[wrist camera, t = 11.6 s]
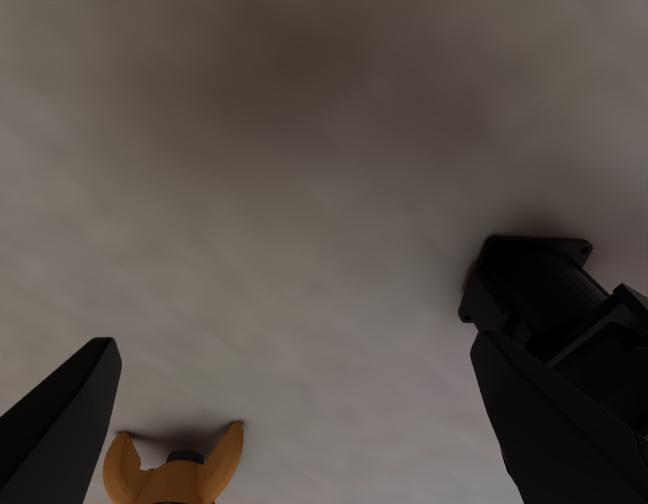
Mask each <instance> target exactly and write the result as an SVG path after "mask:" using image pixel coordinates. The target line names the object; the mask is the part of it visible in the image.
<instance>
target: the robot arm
mask: <svg viewBox="0 0 648 504" xmlns="http://www.w3.org/2000/svg"><path fill="white" fill-rule="evenodd" d="M495 243H497V245H495V246H493V245H494V244H495ZM492 246H493V247H492ZM582 248H583V249H582ZM592 249H593V246H592V245H591V244H590V243H589V242H588V241H587V240H581V239H559V238H536V237H514V236H492V237H490V238H489V239H487V240H486V242H485V244H484V247H483V250H482V252H481V255H480V258H479V260H478V263H477V266H476V268H475V269H474V270H473V272H472V275H471V278H470V280H469V283H468V286H467V288H466V291H465V294H464V296H463V299H462V305H461V308H460V310H459V313H458V315H459V317H460V319H461V321H462V322H464V323H474V324H475V326H476V328H477V329H478V331H479V332H478V334H477V336H476V339H475V341H474V343H473V345H472V348H471V351H470V357H471V361H472V365H473V368H474V371H475V375H476V378H477V382H478V385H479V388H480V392H481V395H482V399H483V402H484V405H485V408H486V411H487V414H488V417H489V419H490V422H491V424H492V427H493V429H494V432H495V434H496V437H497V439H498V441H499V444H500V448H501V453H502V457H503V460H504V463H505V466H506V469H507V472H508V474H509V475H510V476H511V478H512V479H513V481H514V483H515V484H516V486H517V488H518V490H519V492H520V495H521V497H522V500H523V502H524V504H648V298H647V297H645V296H644V295H642V294H640V293H639V292H637V291H635V290H634V289H632V288H630V287H628V286H627V285H625V284H623V283H621V284H620V285H619V286H618V287H616V288H615V289H614V290H613V293H612V294H611V295H610V294H609V293H608V292H607V291H605V290H604V289H603V288H602V287H601V286H600V285H599V284H598V283H597V282H596V281H595V280H594V279H593V278H592V277H591V276H590V275H589V274H588V273H587V272H586V271H585V270H584V269H582V267H583V266H584V264H585V262H586V260H587V258H588V257H589V255H590V253H591V251H592ZM466 315H467V316H466ZM121 369H122V361H121V357H120V354H119V351H118V348H117V345H116V342H115V339H114V338H112V337H96V338H93V339H91V340H90V341H89V342H87V343H86V344H85V345H84V346H83V347H82V348H80V349H79V350H78V351H77V352H76V353H75V354H73V355H72V356H71V357H70V358H69V359H68V360H66V361H65V362H64V363H63V364H62V365H61V366H59V367H58V368H57V369H56V370H55V371H54V372H52V373H51V374H50V375H49V376H48V377H47V378H45V379H44V380H43V381H42V382H41V383H40V384H38V385H37V386H36V387H35V388H34V389H33V390H31V391H30V392H29V393H28V394H27V395H26V396H24V397H23V398H22V399H21V400H20V401H18V402H17V403H16V404H15V405H14V406H13V407H11V408H10V409H9V410H8V411H7V412H6V413H4V414H3V415H2V416H1V417H0V504H83V501H84V498H85V496H86V493H87V490H88V487H89V484H90V481H91V478H92V475H93V473H94V470H95V467H96V464H97V461H98V458H99V455H100V453H101V450H102V447H103V444H104V441H105V438H106V435H107V431H108V427H109V423H110V418H111V414H112V410H113V405H114V401H115V396H116V392H117V387H118V383H119V379H120V374H121Z"/></svg>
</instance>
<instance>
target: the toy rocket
mask: <svg viewBox="0 0 648 504" xmlns="http://www.w3.org/2000/svg"><path fill="white" fill-rule="evenodd" d="M243 434H244V431H243V428H242V425H241V423H240V422H235V423H233V424H232V425H231V426H230V428H229V429H228V431H227V432H226V434H225V435H224V436H223V438H222V439H221V440H220V442H219V443H218V444H217V446H216V447H215V448H214V450H213V451H212V453H211V454H210V456H209V459H208V462H207V464H205V465H204V457H203V456H202V455H201V454H200V453H198V452H196V451H193V450H177V451H174V452H172V453H170V454H169V456H168V458H167V460H166V463H165V464H163V465H161V466H160V467H158V468H157V469H153V468H151V469H149V470H147V471H145V470H140V466H141V461H140V457H139V455H138V453H137V451H136V449H135V447H134V445H133V443H132V441H131V439H130V437H129V435H128V433H126V432H121V433H120V434H119V435H118V436H117V437H116V438H115V439H114V440H113V442H112V444H111V446H110V448H109V450H108V452H107V454H106V457H105V460H104V464H103V482H104V486H105V489H106V491H107V494H108V496H109V497H110V499H111V500H112V501H113V503H114V504H215V499H216V498H217V497H218V496H219V495H220V494H221V492H222V491H223V490H224V488H225V487H226V486H227V484H228V483H229V481H230V479H231V478H232V476H233V474H234V472H235V470H236V468H237V465H238V463H239V460H240V457H241V453H242V448H243Z"/></svg>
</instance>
